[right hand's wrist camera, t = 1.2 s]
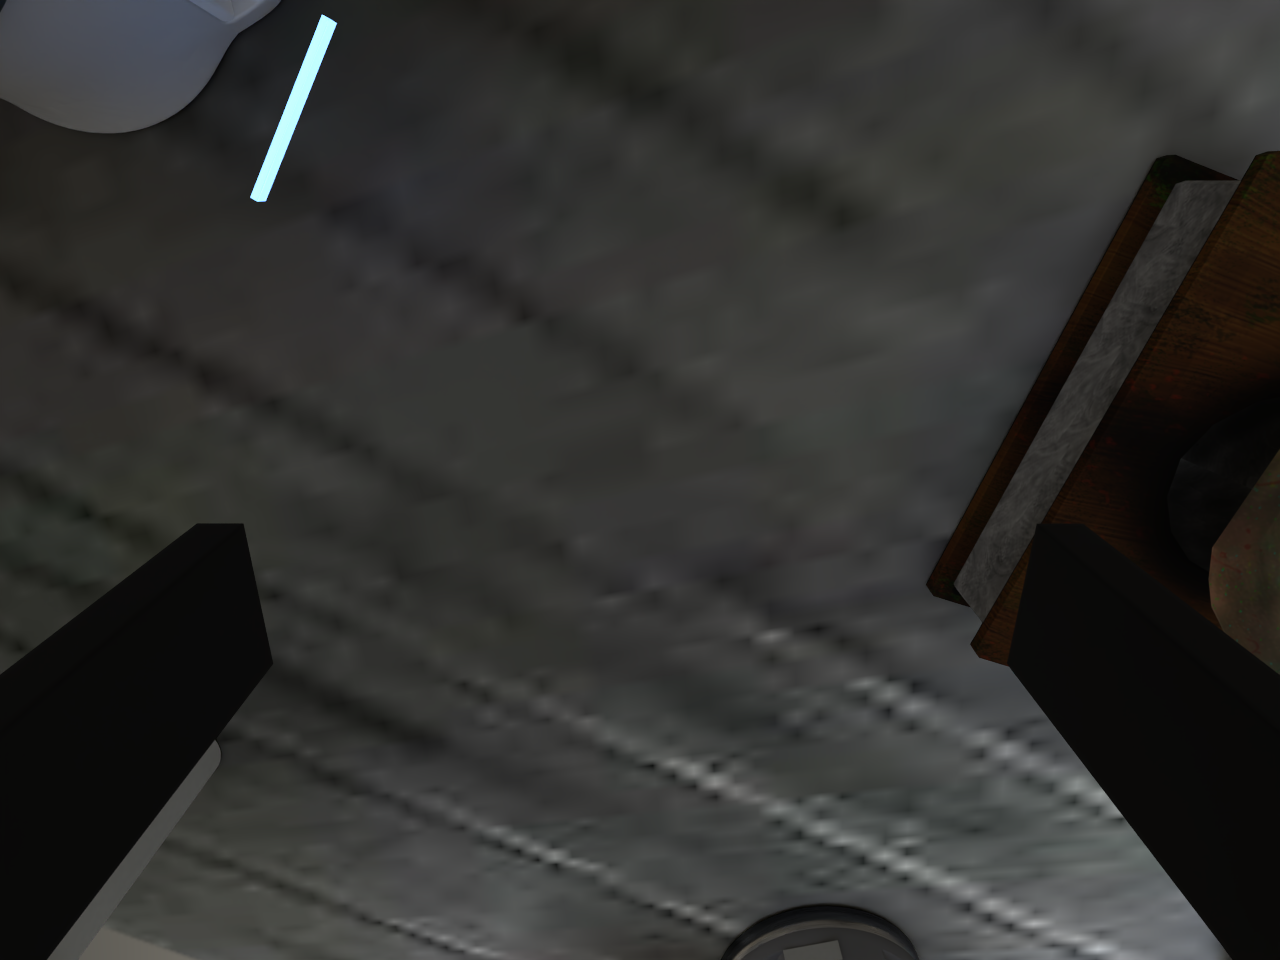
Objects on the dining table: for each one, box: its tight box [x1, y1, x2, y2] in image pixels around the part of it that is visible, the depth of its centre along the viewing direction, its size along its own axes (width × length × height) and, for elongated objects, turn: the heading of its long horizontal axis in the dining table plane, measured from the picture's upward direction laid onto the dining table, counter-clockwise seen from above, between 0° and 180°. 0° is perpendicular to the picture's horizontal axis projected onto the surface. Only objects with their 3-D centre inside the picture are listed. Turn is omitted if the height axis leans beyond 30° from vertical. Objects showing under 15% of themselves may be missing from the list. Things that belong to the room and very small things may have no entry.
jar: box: [47, 740, 221, 960], centre depth 41 cm, size 4×4×16 cm
